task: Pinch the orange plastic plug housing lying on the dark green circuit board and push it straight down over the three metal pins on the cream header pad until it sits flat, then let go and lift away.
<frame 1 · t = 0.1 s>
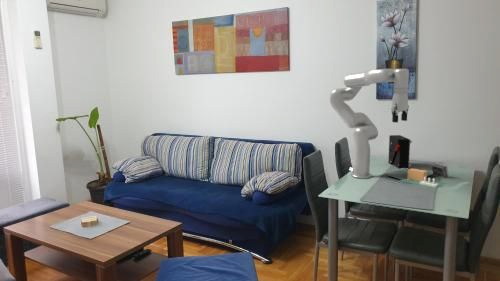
hand: (399, 121, 222), 37 cm above the table, tool pointing down, fingers open, 9 cm apart
pin header board: (422, 184, 226), on the table
electrical switch: (440, 178, 238), on the table
electrical component: (399, 165, 272), on the table
plug housing: (417, 179, 231), point 1 cm above the table, touching pin header board
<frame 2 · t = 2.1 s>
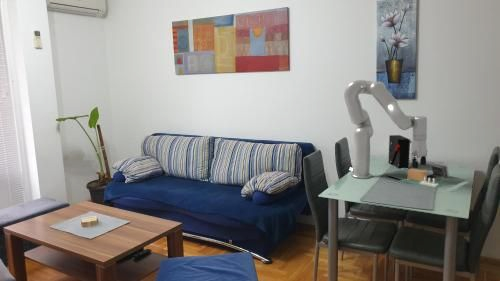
hand: (419, 166, 229), 9 cm above the table, tool pointing down, fingers open, 9 cm apart
nothing on the table moved.
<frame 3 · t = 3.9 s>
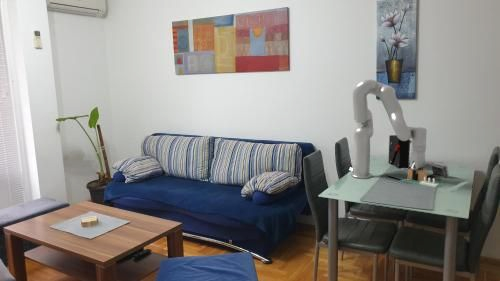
hand: (417, 178, 231), 2 cm above the table, tool pointing down, fingers closed on plug housing, 4 cm apart
plug housing: (417, 179, 231), point 2 cm above the table, touching gripper, pin header board
everything else where it was.
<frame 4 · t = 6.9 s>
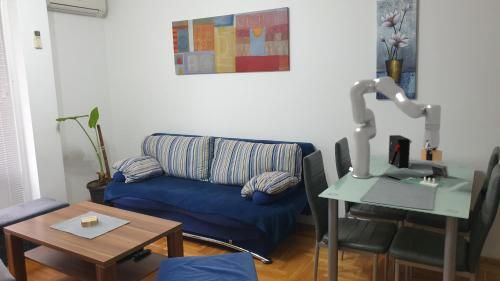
hand: (431, 159, 217), 16 cm above the table, tool pointing down, fingers closed on plug housing, 4 cm apart
plug housing: (431, 160, 217), point 16 cm above the table, touching gripper
everything else where it was.
when the fingers open (3 cm above the table, at t = 10.1 s): plug housing stays where it is, resting on pin header board.
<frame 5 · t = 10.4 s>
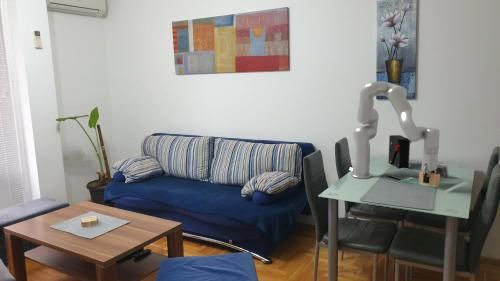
hand: (429, 181, 220), 3 cm above the table, tool pointing down, fingers open, 6 cm apart
plug housing: (429, 183, 220), point 2 cm above the table, touching pin header board
everything else where it was.
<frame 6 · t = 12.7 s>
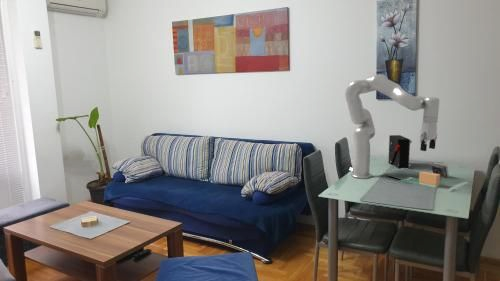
hand: (427, 149, 221), 21 cm above the table, tool pointing down, fingers open, 9 cm apart
nothing on the table moved.
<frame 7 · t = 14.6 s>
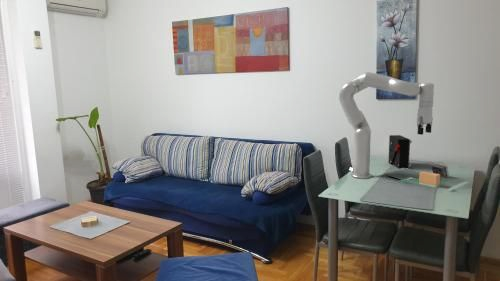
hand: (424, 133, 230), 28 cm above the table, tool pointing down, fingers open, 9 cm apart
nothing on the table moved.
at the end: plug housing 0.0 cm from the target spot on the pin header board, point 2.5 cm above the pin header board's base; plug housing tilted 0°; the gripper is holding nothing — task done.
